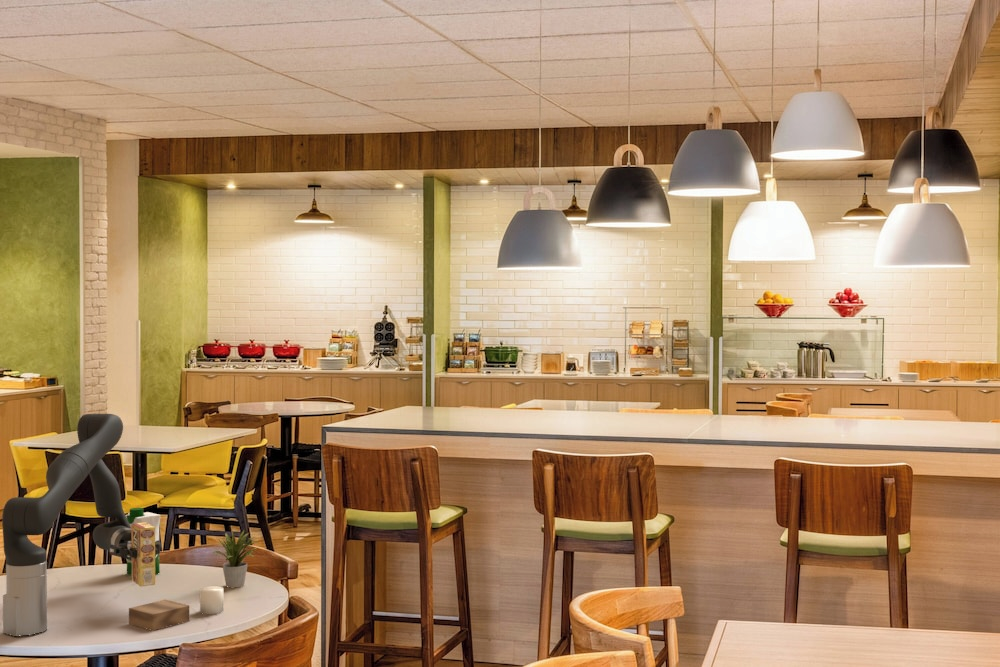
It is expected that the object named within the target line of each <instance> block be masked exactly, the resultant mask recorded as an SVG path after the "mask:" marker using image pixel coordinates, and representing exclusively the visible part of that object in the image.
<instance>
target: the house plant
mask: <svg viewBox="0 0 1000 667" xmlns="http://www.w3.org/2000/svg"><path fill="white" fill-rule="evenodd" d="M244 533H245V529H243V530H242V531H241V532H240V535H239V537H238V539H237V540H236V537H235V534H234V531H233V530H231V537H230V535H229V534H228V533H227V532H225V533H224V534H225V535H224V536H225V539H226V540H224V539H222V540H221V539H220V538H216V540H217V541H219V543H220V544H221V545H222V546H223V548H224V549H225V553H223V552H222V551H219V550H216V551H213V552H212V554H220V555H222V556H224V557H225V562H226V563H223V564H222V572H223V575H224V581H225V586H228V587H239V588H242V587H241V586H243V587H244V586H245V584H246V576H247V571H248V570H247V569H248V563H247V562H244V561H243V560H244V559H245V558H246V557H247V555H249V556H251V557H252V558H254V555H253V554H254V553H255V554H256V552H255V551H254V550H256V549H257V547H254V548H251V549H246V548H247V547H248V546H251V545H253V544H258V543H259V541H256V540H257V538H258V537H259V535H257V536H254V537H249V538H248V539H247V536H248V535H249V532H247V533H245V534H244ZM261 536H263V535H262V534H261V535H260V537H261ZM254 540H255V542H253V541H254ZM252 553H253V554H252ZM227 561H228V562H227ZM228 587H227V588H228Z"/></svg>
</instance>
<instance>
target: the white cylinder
mask: <svg viewBox="0 0 1000 667" xmlns="http://www.w3.org/2000/svg"><path fill="white" fill-rule="evenodd" d="M224 598H225V597H224V587H223V586H216V585H215V586H204V587H201V588H200V589H199V612H201V613H203V614H202V615H206V614H212V615H218V614H217V613H219V614H222V613H223V612H224ZM222 611H223V612H222ZM221 612H222V613H221ZM201 613H200V614H201Z"/></svg>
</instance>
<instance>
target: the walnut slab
mask: <svg viewBox="0 0 1000 667" xmlns="http://www.w3.org/2000/svg"><path fill="white" fill-rule="evenodd" d="M187 621H188V622H190V605H188V604H185V603H180V602H176V601H172V600H170V599H162V600H158V601H153V602H149V603H145V604H141V605H136V606H133V607H128V624H129V625H131V624H132V625H131V626H134V627H138V626H139V628H141V629H145V628H147V629H146V630H149V629H151V630H150V631H152V630H154V631H156V629H158V630H160V628H161V629H164V628H163V627H165V628H167V627H166V626H169V627H171V626H170V625H173V626H175V625H174V624H177V625H179V624H178V623H180V624H183V623H182V622H184V623H188V622H187Z"/></svg>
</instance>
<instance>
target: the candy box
mask: <svg viewBox="0 0 1000 667" xmlns="http://www.w3.org/2000/svg"><path fill="white" fill-rule="evenodd" d="M131 541H132V544H131V545H132V548H134V549H136V550H137V558H136V559H134V558H132V575H131V581H132V582H133V583H135V584H136V585H137V586H139V587H147V586H148V587H149V586H155V585H156V574H155V527H154V526H152V525H150V524H148V523H146V522H145V523H133V524H131Z"/></svg>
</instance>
